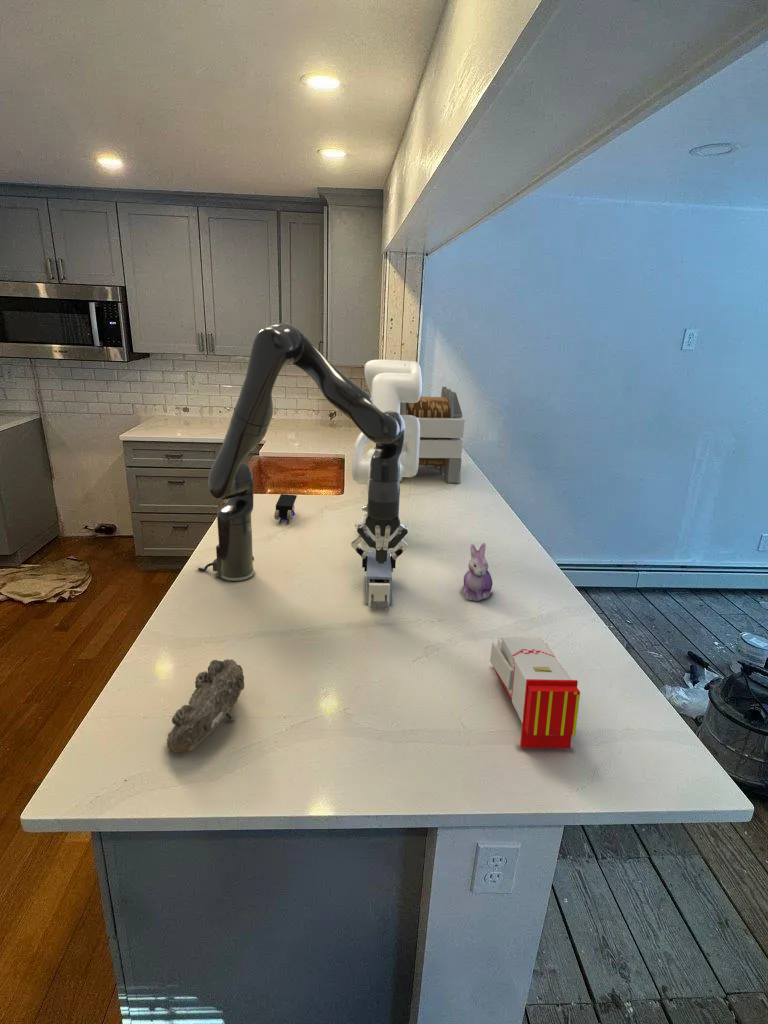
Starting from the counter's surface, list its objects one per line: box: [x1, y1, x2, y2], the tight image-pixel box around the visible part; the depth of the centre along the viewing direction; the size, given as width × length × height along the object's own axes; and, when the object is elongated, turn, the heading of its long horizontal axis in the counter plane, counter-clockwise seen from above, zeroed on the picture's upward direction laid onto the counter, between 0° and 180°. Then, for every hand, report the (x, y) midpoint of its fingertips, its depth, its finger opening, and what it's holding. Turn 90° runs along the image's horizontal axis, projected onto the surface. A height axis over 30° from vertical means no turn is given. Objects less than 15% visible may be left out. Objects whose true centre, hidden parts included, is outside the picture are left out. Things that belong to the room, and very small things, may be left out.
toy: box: [489, 636, 581, 749], centre depth 115 cm, size 12×13×30 cm
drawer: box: [367, 579, 390, 609], centre depth 152 cm, size 21×5×6 cm, turn 1°
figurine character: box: [274, 493, 298, 525], centre depth 208 cm, size 7×8×15 cm
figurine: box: [462, 542, 493, 602], centre depth 157 cm, size 9×10×15 cm
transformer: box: [400, 386, 465, 484], centre depth 268 cm, size 34×33×41 cm
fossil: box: [166, 658, 245, 754], centre depth 106 cm, size 22×10×15 cm
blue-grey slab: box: [365, 552, 393, 606], centre depth 158 cm, size 16×7×8 cm, turn 1°
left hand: (381, 562), depth 141 cm, fingers closed
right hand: (378, 569), depth 161 cm, fingers closed on blue-grey slab, 6 cm apart
